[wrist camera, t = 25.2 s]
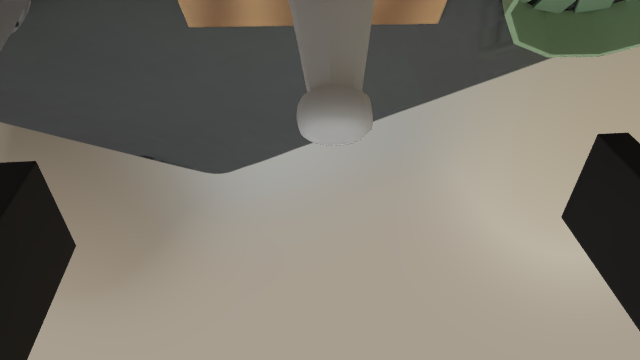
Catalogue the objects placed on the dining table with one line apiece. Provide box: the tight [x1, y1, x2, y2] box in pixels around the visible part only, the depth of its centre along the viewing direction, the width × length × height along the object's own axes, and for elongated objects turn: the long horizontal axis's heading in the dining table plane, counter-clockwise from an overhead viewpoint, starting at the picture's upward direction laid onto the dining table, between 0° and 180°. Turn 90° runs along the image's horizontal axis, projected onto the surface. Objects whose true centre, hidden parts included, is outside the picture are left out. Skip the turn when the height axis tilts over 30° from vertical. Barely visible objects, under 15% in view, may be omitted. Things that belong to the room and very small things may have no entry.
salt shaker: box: [288, 0, 375, 146], centre depth 28 cm, size 6×6×13 cm
